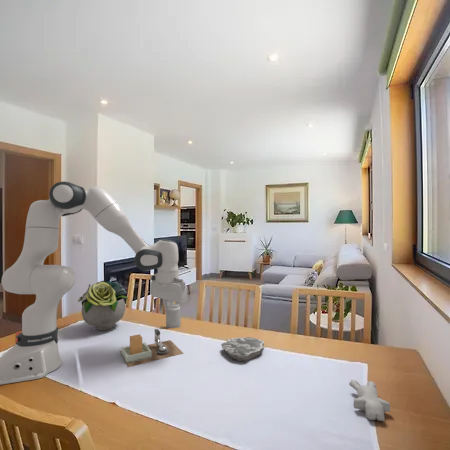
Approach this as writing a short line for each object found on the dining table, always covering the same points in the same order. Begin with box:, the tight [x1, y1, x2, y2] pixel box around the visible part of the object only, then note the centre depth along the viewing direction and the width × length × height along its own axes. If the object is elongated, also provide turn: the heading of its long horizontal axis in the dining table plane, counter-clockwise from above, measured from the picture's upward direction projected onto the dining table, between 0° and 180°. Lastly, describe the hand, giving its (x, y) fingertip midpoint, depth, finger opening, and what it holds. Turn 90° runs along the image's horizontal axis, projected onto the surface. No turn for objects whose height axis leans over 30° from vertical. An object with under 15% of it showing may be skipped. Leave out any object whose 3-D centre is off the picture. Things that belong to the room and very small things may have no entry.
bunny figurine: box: [348, 379, 391, 422], centre depth 86 cm, size 10×5×15 cm
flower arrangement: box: [77, 280, 130, 331], centre depth 153 cm, size 25×25×24 cm
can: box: [165, 303, 182, 329], centre depth 152 cm, size 8×8×12 cm
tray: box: [121, 342, 152, 365], centre depth 117 cm, size 10×10×2 cm
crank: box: [154, 328, 167, 352], centre depth 123 cm, size 11×3×6 cm, turn 30°
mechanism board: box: [119, 340, 185, 368], centre depth 120 cm, size 22×16×2 cm
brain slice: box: [220, 336, 265, 362], centre depth 123 cm, size 20×17×3 cm
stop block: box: [129, 334, 143, 355], centre depth 117 cm, size 4×4×7 cm
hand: (168, 309), depth 126 cm, fingers closed
